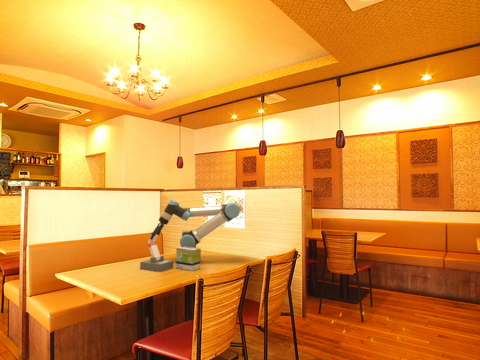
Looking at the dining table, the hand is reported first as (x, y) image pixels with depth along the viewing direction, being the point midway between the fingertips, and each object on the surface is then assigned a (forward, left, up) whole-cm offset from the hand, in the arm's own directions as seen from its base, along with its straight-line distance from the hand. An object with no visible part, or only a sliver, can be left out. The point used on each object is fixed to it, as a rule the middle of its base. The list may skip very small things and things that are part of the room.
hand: (150, 242), depth 235 cm
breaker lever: (-8, +18, -10) cm, 22 cm away
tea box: (-30, +18, -16) cm, 39 cm away
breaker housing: (-8, +18, -16) cm, 26 cm away
